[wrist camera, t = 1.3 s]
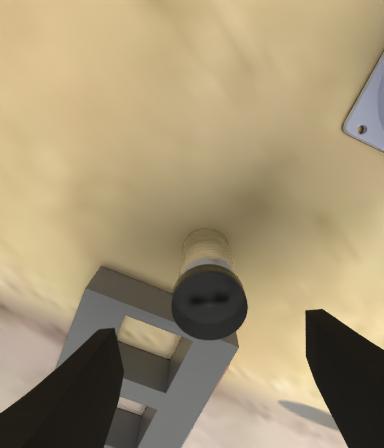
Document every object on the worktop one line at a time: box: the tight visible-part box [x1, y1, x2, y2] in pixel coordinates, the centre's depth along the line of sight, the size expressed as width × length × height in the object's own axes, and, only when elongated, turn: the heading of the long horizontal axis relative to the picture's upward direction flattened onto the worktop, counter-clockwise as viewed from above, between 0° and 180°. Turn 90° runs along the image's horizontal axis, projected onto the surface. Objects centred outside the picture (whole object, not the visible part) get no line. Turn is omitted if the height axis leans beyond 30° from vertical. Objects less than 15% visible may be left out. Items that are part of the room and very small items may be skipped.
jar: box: [171, 228, 248, 340], centre depth 17 cm, size 3×3×7 cm
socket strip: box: [56, 267, 239, 448], centre depth 22 cm, size 10×12×3 cm
